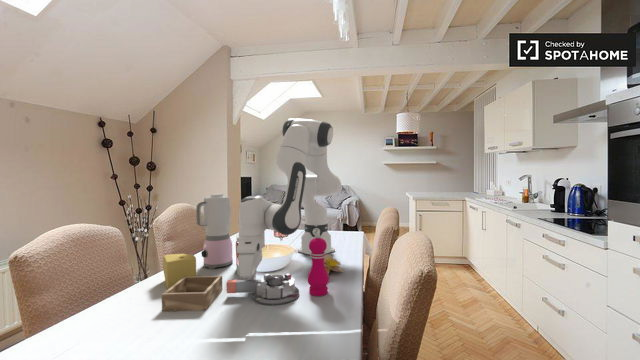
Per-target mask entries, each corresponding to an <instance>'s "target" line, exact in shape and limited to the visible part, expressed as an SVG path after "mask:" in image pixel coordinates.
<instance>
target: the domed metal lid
mask: <svg viewBox="0 0 640 360" xmlns="http://www.w3.org/2000/svg"><path fill="white" fill-rule="evenodd" d="M268 279H269V286H282V282H283V281H284V276H283V274H272V275H270V276H269V278H268ZM252 293H253V294H252V298H253V301H254V302H255V303H257V304H259V305H262V306H283V305H286V304H290V303H292V302H294V301H296V300H297V299H298V298H299V296H300V289H299V288H298V287H296V286H295V290H294V293H293V294H291V295H289V296H286V297H284V298H282V297H281V298H271V299H267V298H263V297H261V296H259V295H257V292H252Z"/></svg>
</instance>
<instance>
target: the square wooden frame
mask: <svg viewBox="0 0 640 360" xmlns="http://www.w3.org/2000/svg"><path fill="white" fill-rule="evenodd" d="M222 291H223V275H200V276H198V275H196V276H193V277H183V278H182V279H181V280H180V281H178V282H177V283H176V284H174V285H173V286H172V287H171V288H169V289H167V290H165V291H164V292H162V293H161V311H162V312H179V311H180V312H185V311H207V310H208V309H209V308H210V307H211V305H212V304H213V303H214V302H215V300H216V299H217V297H218V296H219V295H220V294H221V293H222Z"/></svg>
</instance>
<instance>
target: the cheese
mask: <svg viewBox="0 0 640 360" xmlns="http://www.w3.org/2000/svg"><path fill="white" fill-rule="evenodd" d="M162 268H163V275H164V282H165V286H166V289H167V290H168V289H169V288H171V287H172V286H173V285H174V284H176V283H177V282H178V281H180V280H181V279H182V278H183V277H193V276H197V258H196V256H195V255H194V254H193V253H189V254H186V253H174V254H172V253H171V254H165V255H163V257H162Z"/></svg>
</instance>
